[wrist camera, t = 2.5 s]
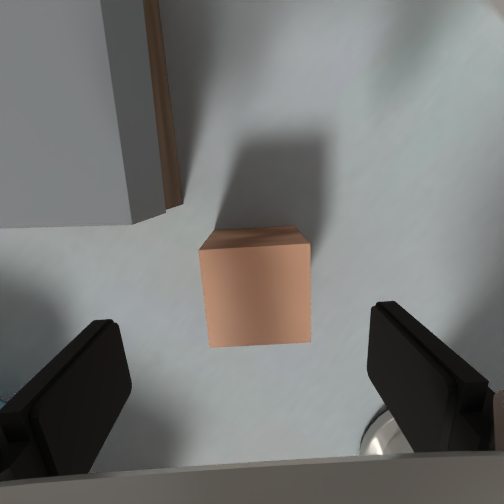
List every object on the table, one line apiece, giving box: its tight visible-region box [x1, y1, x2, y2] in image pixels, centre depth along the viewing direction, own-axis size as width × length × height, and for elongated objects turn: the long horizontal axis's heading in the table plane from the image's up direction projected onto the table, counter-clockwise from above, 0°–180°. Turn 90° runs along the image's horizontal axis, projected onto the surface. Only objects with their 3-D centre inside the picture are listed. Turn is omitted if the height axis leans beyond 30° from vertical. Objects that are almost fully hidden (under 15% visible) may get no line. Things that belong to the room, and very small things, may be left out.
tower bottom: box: [143, 0, 183, 210], centre depth 16 cm, size 14×14×4 cm
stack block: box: [198, 226, 311, 348], centre depth 18 cm, size 6×6×6 cm
